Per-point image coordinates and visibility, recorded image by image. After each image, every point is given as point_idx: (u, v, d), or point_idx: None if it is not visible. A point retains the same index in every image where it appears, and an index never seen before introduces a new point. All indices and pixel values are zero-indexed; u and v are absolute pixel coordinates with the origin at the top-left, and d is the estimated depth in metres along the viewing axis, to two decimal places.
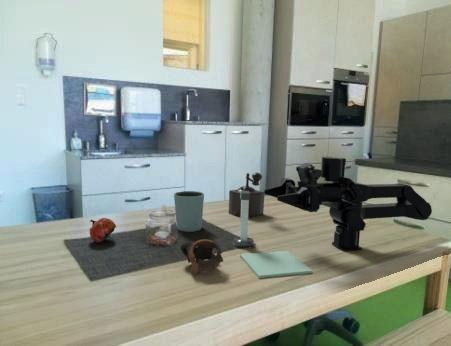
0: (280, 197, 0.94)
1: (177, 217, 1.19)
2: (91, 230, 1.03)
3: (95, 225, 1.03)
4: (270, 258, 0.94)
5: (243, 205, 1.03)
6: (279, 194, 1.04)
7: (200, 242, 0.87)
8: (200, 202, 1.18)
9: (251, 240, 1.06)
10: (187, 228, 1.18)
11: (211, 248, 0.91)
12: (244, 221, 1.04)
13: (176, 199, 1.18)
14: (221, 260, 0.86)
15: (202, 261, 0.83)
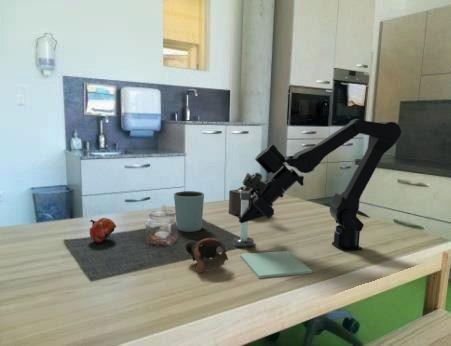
0: (240, 220, 1.04)
1: (177, 217, 1.19)
2: (91, 230, 1.03)
3: (95, 225, 1.03)
4: (270, 258, 0.94)
5: (243, 205, 1.03)
6: None
7: (205, 241, 0.89)
8: (200, 202, 1.18)
9: (251, 240, 1.06)
10: (187, 228, 1.18)
11: (215, 247, 0.92)
12: None
13: (176, 199, 1.18)
14: (226, 258, 0.87)
15: (208, 259, 0.84)
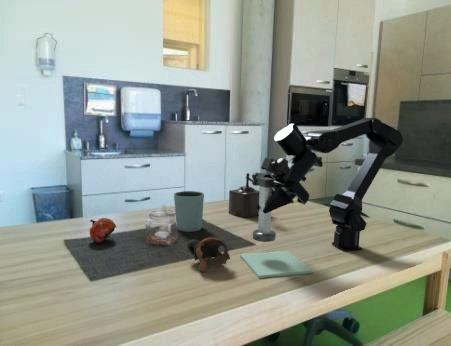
0: (265, 210, 0.92)
1: (177, 217, 1.19)
2: (91, 230, 1.03)
3: (95, 225, 1.03)
4: (270, 258, 0.94)
5: (266, 193, 0.92)
6: None
7: (207, 240, 0.89)
8: (200, 202, 1.18)
9: (272, 232, 0.95)
10: (187, 228, 1.18)
11: (217, 246, 0.93)
12: None
13: (176, 199, 1.18)
14: (228, 257, 0.87)
15: (210, 259, 0.84)
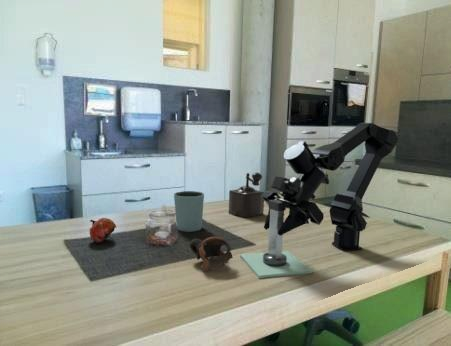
0: (280, 231, 0.88)
1: (177, 217, 1.19)
2: (91, 230, 1.03)
3: (95, 225, 1.03)
4: None
5: (279, 217, 0.89)
6: None
7: (210, 239, 0.90)
8: (200, 202, 1.18)
9: (282, 255, 0.93)
10: (187, 228, 1.18)
11: (219, 245, 0.94)
12: (279, 235, 0.90)
13: (176, 199, 1.18)
14: (231, 257, 0.88)
15: (213, 258, 0.85)
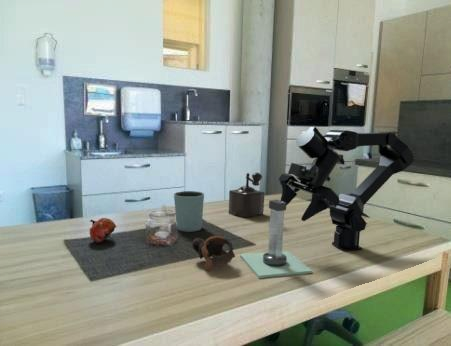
0: (303, 218, 0.93)
1: (177, 217, 1.19)
2: (91, 230, 1.03)
3: (95, 225, 1.03)
4: None
5: (279, 217, 0.89)
6: (290, 197, 1.02)
7: (212, 239, 0.90)
8: (200, 202, 1.18)
9: (282, 255, 0.93)
10: (187, 228, 1.18)
11: (221, 244, 0.94)
12: (279, 235, 0.90)
13: (176, 199, 1.18)
14: (233, 256, 0.89)
15: (216, 257, 0.86)
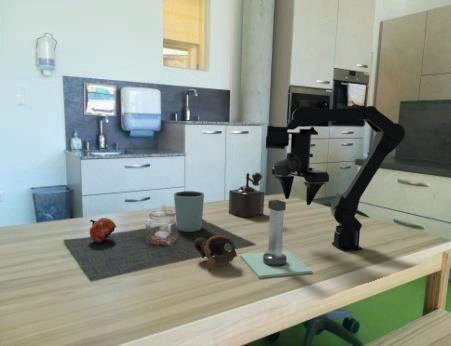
0: (308, 202, 1.03)
1: (177, 217, 1.19)
2: (91, 230, 1.03)
3: (95, 225, 1.03)
4: None
5: (278, 217, 0.89)
6: (289, 183, 1.11)
7: (214, 238, 0.91)
8: (200, 202, 1.18)
9: (282, 255, 0.93)
10: (187, 228, 1.18)
11: (223, 244, 0.95)
12: (279, 235, 0.90)
13: (176, 199, 1.18)
14: (235, 255, 0.89)
15: (218, 256, 0.86)
